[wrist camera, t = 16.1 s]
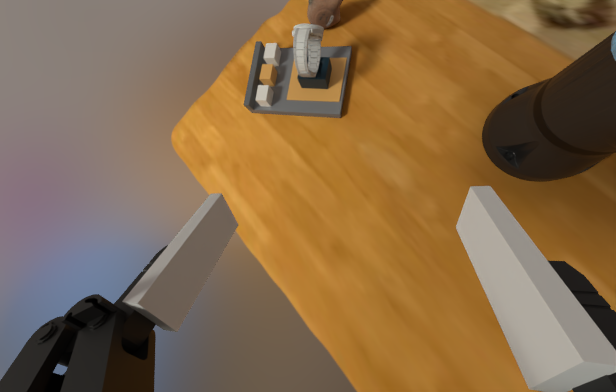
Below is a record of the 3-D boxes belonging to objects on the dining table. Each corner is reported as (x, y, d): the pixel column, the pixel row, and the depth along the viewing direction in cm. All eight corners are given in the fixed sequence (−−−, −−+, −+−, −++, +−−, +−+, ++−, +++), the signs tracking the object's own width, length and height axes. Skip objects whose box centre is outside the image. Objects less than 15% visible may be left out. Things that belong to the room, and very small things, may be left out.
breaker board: (351, 51, 44) (350, 35, 40) (340, 118, 43) (338, 108, 39) (263, 53, 49) (254, 39, 45) (252, 112, 48) (242, 103, 45)
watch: (333, 59, 43) (324, 7, 32) (326, 97, 43) (314, 57, 32) (307, 58, 44) (289, 9, 34) (299, 96, 44) (279, 57, 33)
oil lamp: (351, 8, 45) (349, -35, 37) (354, 25, 44) (353, -16, 37) (310, 23, 47) (300, -15, 39) (313, 39, 47) (303, 4, 39)
